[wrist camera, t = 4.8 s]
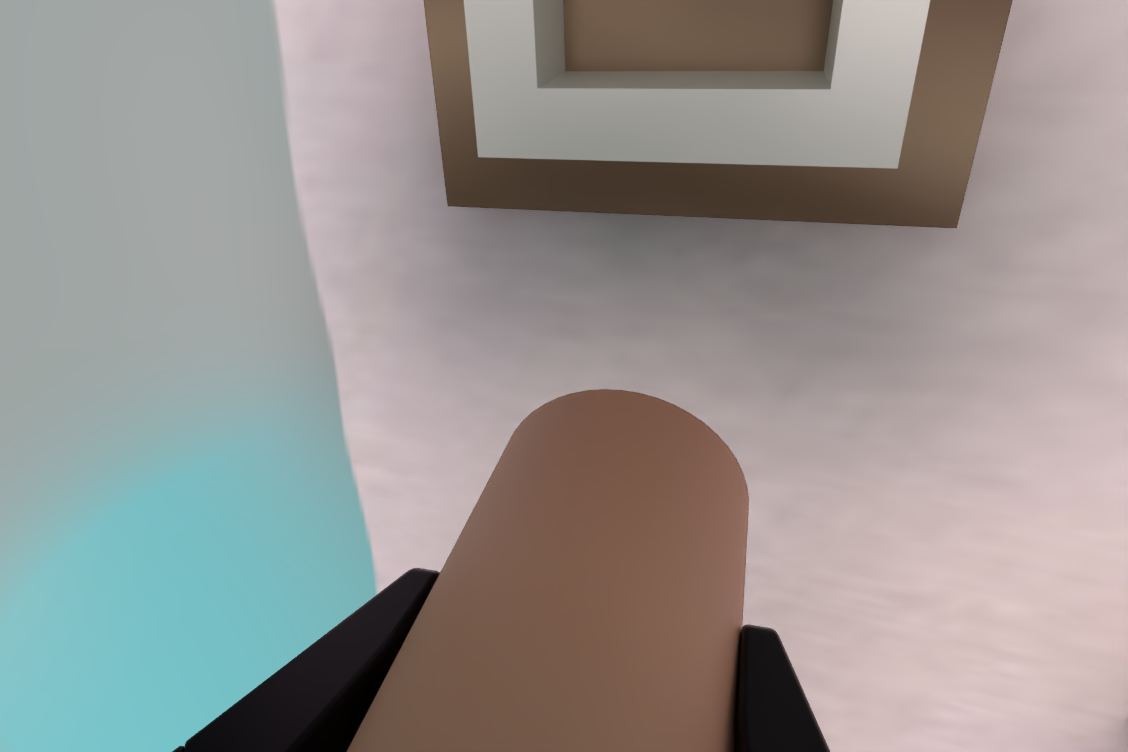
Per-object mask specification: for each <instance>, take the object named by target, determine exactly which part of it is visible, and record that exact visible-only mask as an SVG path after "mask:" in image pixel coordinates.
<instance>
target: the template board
mask: <svg viewBox="0 0 1128 752" xmlns="http://www.w3.org/2000/svg"><path fill="white" fill-rule="evenodd" d="M1011 4H1012V0H424V7H425V16H426V24H427V33H428V41H429V50H430V58H431V67H432V75H433V84H434V93H435V101H436V110H437V118H438V127H439V135H440V144H441V152H442V161H443V169H444V178H445V186H446V195H447V204H448V206H457V207H480V208H503V209H526V210H549V211H572V212H595V213H618V214H641V215H664V216H687V217H710V218H733V219H756V220H779V221H802V222H825V223H848V224H871V225H894V226H917V227H940V228H957V224H958V220H959V216H960V212H961V208H962V204H963V200H964V196H965V192H966V188H967V184H968V179H969V175H970V171H971V167H972V163H973V159H974V155H975V151H976V147H977V143H978V139H979V135H980V131H981V126H982V122H983V118H984V114H985V110H986V106H987V102H988V98H989V94H990V90H991V86H992V82H993V78H994V73H995V69H996V65H997V61H998V57H999V53H1000V49H1001V45H1002V41H1003V37H1004V33H1005V29H1006V25H1007V20H1008V16H1009V12H1010V8H1011Z"/></svg>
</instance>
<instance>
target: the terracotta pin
mask: <svg viewBox="0 0 1128 752" xmlns="http://www.w3.org/2000/svg"><path fill="white" fill-rule="evenodd" d="M748 512H749V496H748V489H747V484H746V481H745V477H744V474H743V471H742V469H741V467H740V465H739V463H738V461H737V459H736V458H735V456H734V455H733V453H732V452H731V450H730V449H729V447H728V446H727V445H726V444H725V443H724V441H723V440H722V439H721V438H720V437H719V436H718V435H717V434H716V433H715V432H714V431H713V430H712V429H711V428H709V427H708V426H707V425H706V424H705V423H704V422H702V421H701V420H699V419H698V418H696V417H695V416H693V415H692V414H690V413H689V412H687V411H685V410H683V409H681V408H679V407H677V406H676V405H674V404H671V403H669V402H666V401H664V400H661V399H659V398H656V397H652V396H648V395H645V394H641V393H636V392H630V391H623V390H607V389H602V390H587V391H582V392H577V393H572V394H568V395H565V396H562V397H559V398H556V399H554V400H552V401H550V402H548V403H546V404H544V405H542V406H541V407H539V408H538V409H536V410H535V411H533V412H532V413H531V414H530V415H529V416H528V417H526V418H525V419H524V420H523V421H522V422H521V424H520V425H519V426H518V427H517V429H516V430H515V431H514V433H513V435H512V437H511V439H510V441H509V442H508V444H507V446H506V448H505V450H504V452H503V454H502V456H501V458H500V460H499V462H498V463H497V465H496V467H495V469H494V471H493V473H492V475H491V477H490V479H489V481H488V483H487V485H486V486H485V488H484V490H483V492H482V494H481V496H480V498H479V500H478V502H477V504H476V506H475V507H474V509H473V511H472V513H471V515H470V517H469V519H468V521H467V523H466V525H465V527H464V528H463V530H462V532H461V534H460V536H459V538H458V540H457V542H456V544H455V546H454V548H453V549H452V551H451V553H450V555H449V557H448V559H447V561H446V563H445V565H444V567H443V569H442V570H441V572H440V574H439V576H438V578H437V580H436V582H435V584H434V586H433V588H432V590H431V591H430V593H429V595H428V597H427V599H426V601H425V603H424V605H423V607H422V609H421V611H420V612H419V614H418V616H417V618H416V620H415V622H414V624H413V626H412V628H411V630H410V632H409V634H408V635H407V637H406V639H405V641H404V643H403V645H402V647H401V649H400V651H399V653H398V655H397V656H396V658H395V660H394V662H393V664H392V666H391V668H390V670H389V672H388V674H387V676H386V677H385V679H384V681H383V683H382V685H381V687H380V689H379V691H378V693H377V695H376V697H375V698H374V700H373V702H372V704H371V706H370V708H369V710H368V712H367V714H366V716H365V718H364V719H363V721H362V723H361V725H360V727H359V729H358V731H357V733H356V735H355V737H354V739H353V740H352V742H351V744H350V746H349V748H348V750H347V752H735V732H736V710H737V692H738V674H739V656H740V638H741V629H742V621H743V603H744V585H745V567H746V548H747V530H748Z"/></svg>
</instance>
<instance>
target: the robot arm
mask: <svg viewBox="0 0 1128 752" xmlns="http://www.w3.org/2000/svg"><path fill="white" fill-rule="evenodd" d="M439 574H440V572H437V571H433V570H427V569H421V568H413V569H411V570H409V571H407V572H406V573H405V574H403V575H402V576H401V577H399V578H398V579H397V580H396V581H394V582H393V583H392V584H390V585H389V586H388V587H386V588H385V589H384V590H383V591H381V592H380V593H379V594H377V595H376V596H375V597H373V598H372V599H371V600H369V601H368V602H367V603H366V604H364V605H363V606H362V607H360V608H359V609H358V610H356V611H355V612H354V613H353V614H351V615H350V616H349V617H347V618H346V619H345V620H343V621H342V622H341V623H340V624H338V625H337V626H336V627H334V628H333V629H332V630H331V631H329V632H328V633H327V634H325V635H324V636H323V637H321V638H320V639H319V640H317V641H316V642H315V643H314V644H312V645H311V646H310V647H309V648H307V649H306V650H304V651H303V652H302V653H301V654H299V655H298V656H297V657H295V658H294V659H293V660H291V661H290V662H289V663H288V664H286V665H285V666H284V667H282V668H281V669H280V670H278V671H277V672H276V673H275V674H273V675H272V676H271V677H269V678H268V679H267V680H265V681H264V682H263V683H262V684H260V685H259V686H258V687H256V688H255V689H254V690H252V691H251V692H250V693H249V694H247V695H246V696H245V697H243V698H242V699H241V700H239V701H238V702H237V703H235V704H234V705H233V706H232V707H230V708H229V709H228V710H227V711H225V712H224V713H222V714H221V715H220V716H219V717H217V718H216V719H215V720H213V721H212V722H211V723H209V724H208V725H207V726H206V727H204V728H203V729H202V730H200V731H199V732H198V733H196V734H195V735H194V736H193V737H191V738H190V739H189V740H187V742H186V744H185V747H184V746H179V747H178V748H177V749H175V750H174V751H173V752H347V750H348V748H349V746H350V744H351V742H352V740H353V739H354V737H355V735H356V733H357V731H358V729H359V727H360V725H361V723H362V721H363V719H364V718H365V716H366V714H367V712H368V710H369V708H370V706H371V704H372V702H373V700H374V698H375V697H376V695H377V693H378V691H379V689H380V687H381V685H382V683H383V681H384V679H385V677H386V676H387V674H388V672H389V670H390V668H391V666H392V664H393V662H394V660H395V658H396V656H397V655H398V653H399V651H400V649H401V647H402V645H403V643H404V641H405V639H406V637H407V635H408V634H409V632H410V630H411V628H412V626H413V624H414V622H415V620H416V618H417V616H418V614H419V612H420V611H421V609H422V607H423V605H424V603H425V601H426V599H427V597H428V595H429V593H430V591H431V590H432V588H433V586H434V584H435V582H436V580H437V578H438V576H439ZM735 752H830V750H829V748H828V745H827V743H826V741H825V739H824V736H823V734H822V732H821V730H820V727H819V725H818V723H817V721H816V718H815V716H814V714H813V712H812V709H811V707H810V705H809V703H808V700H807V698H806V696H805V694H804V691H803V689H802V687H801V685H800V682H799V680H798V678H797V676H796V673H795V671H794V669H793V667H792V664H791V662H790V660H789V658H788V655H787V653H786V651H785V648H784V646H783V644H782V642H781V639H780V637H779V635H778V634H777V632H776V631H775V630H773V629H771V628H765V627H760V626H754V625H745V626H743V627H742V629H741V638H740V656H739V674H738V692H737V710H736V732H735Z"/></svg>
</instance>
